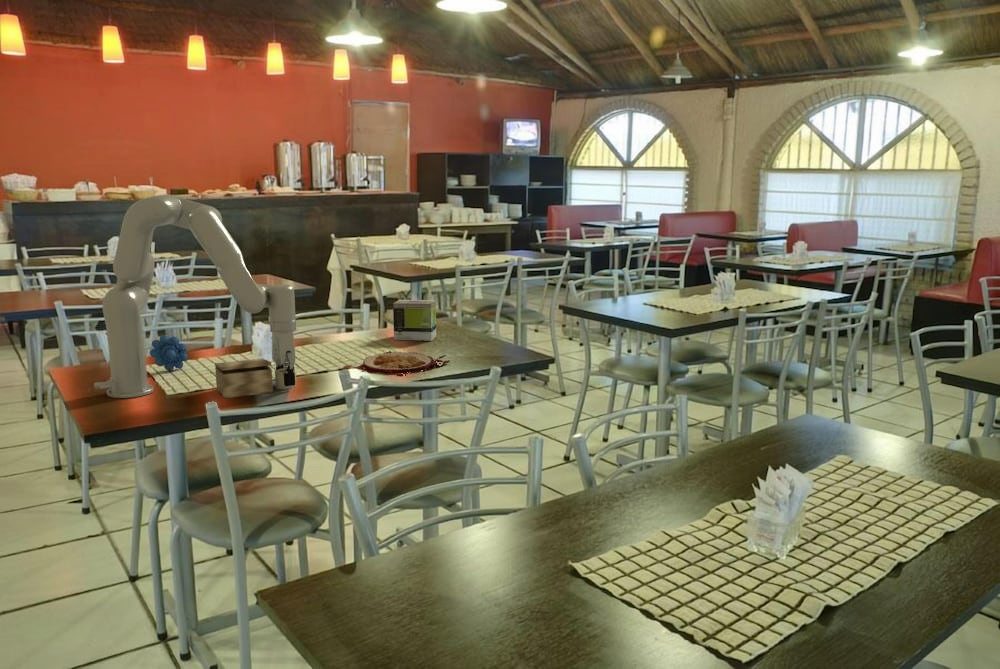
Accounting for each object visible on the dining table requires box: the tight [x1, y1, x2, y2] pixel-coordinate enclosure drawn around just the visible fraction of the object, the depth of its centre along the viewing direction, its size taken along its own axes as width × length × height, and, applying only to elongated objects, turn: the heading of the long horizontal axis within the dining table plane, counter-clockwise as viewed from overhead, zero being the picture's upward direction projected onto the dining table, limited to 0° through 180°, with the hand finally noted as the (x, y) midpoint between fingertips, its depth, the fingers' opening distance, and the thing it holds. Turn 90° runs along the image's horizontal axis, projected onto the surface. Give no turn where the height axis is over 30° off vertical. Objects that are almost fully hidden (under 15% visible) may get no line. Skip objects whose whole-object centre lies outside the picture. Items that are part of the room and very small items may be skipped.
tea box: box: [392, 299, 437, 342], centre depth 317 cm, size 15×10×15 cm, turn 82°
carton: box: [214, 366, 274, 399], centre depth 242 cm, size 14×11×7 cm
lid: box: [214, 358, 272, 371], centre depth 241 cm, size 14×11×1 cm
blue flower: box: [149, 334, 189, 372], centre depth 264 cm, size 12×7×12 cm, turn 123°
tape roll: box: [274, 369, 297, 390], centre depth 247 cm, size 6×6×5 cm
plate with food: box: [343, 350, 450, 376], centre depth 275 cm, size 25×26×4 cm
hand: (285, 381), depth 248 cm, fingers open, 8 cm apart
